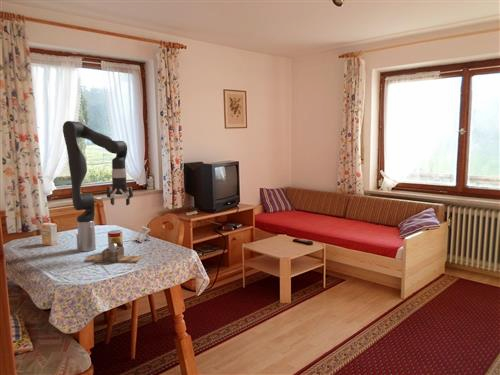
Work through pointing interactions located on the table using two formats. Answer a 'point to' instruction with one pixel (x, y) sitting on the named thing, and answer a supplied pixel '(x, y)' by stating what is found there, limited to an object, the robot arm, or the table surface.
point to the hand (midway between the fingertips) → (120, 204)
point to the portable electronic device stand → (144, 234)
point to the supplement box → (49, 234)
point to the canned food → (115, 237)
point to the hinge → (113, 257)
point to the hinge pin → (112, 246)
